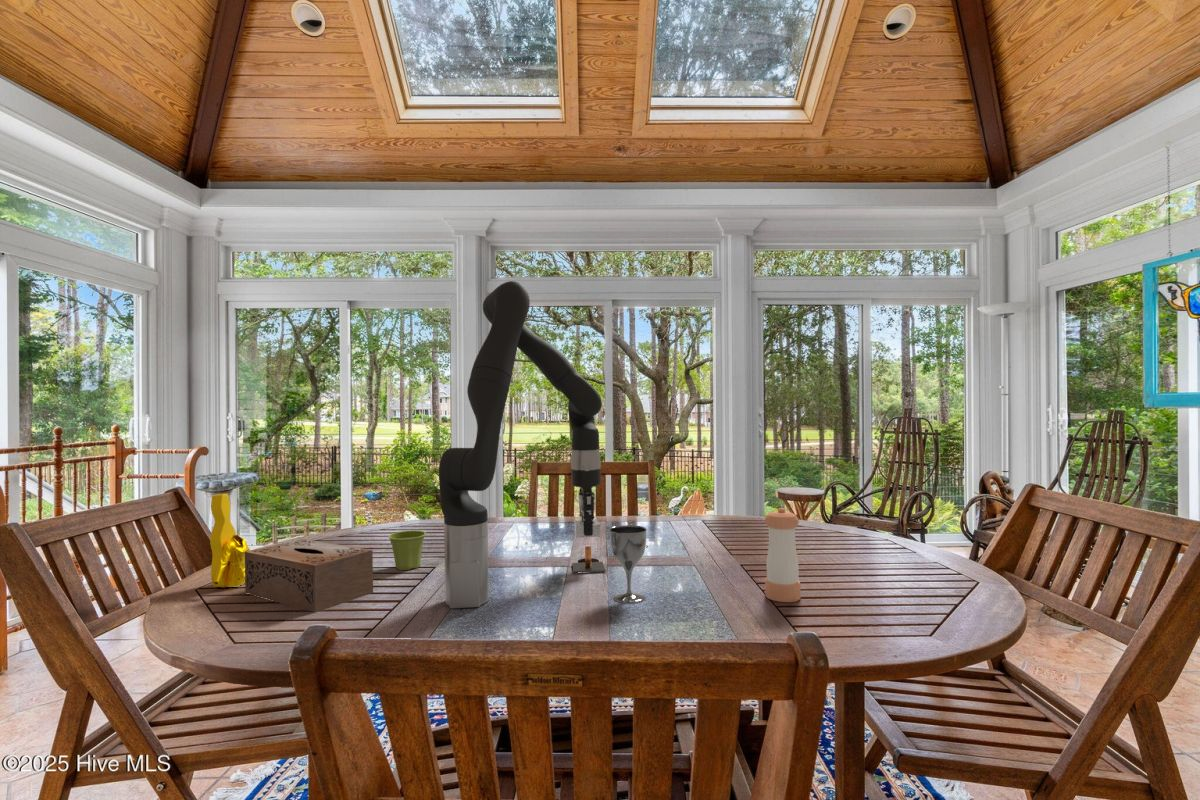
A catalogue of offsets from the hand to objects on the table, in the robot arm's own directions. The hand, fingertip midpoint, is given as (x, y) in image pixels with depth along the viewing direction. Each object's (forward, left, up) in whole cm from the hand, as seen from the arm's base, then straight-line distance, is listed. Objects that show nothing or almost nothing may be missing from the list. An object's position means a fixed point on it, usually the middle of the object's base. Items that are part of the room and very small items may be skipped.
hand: (587, 532), depth 154 cm
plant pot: (+9, +47, -10) cm, 49 cm away
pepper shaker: (-28, -40, -10) cm, 50 cm away
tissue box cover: (-10, +65, -10) cm, 66 cm away
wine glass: (-24, -7, -10) cm, 27 cm away
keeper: (0, 0, -9) cm, 9 cm away
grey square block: (0, 0, -1) cm, 1 cm away
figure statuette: (-1, +86, -10) cm, 87 cm away
